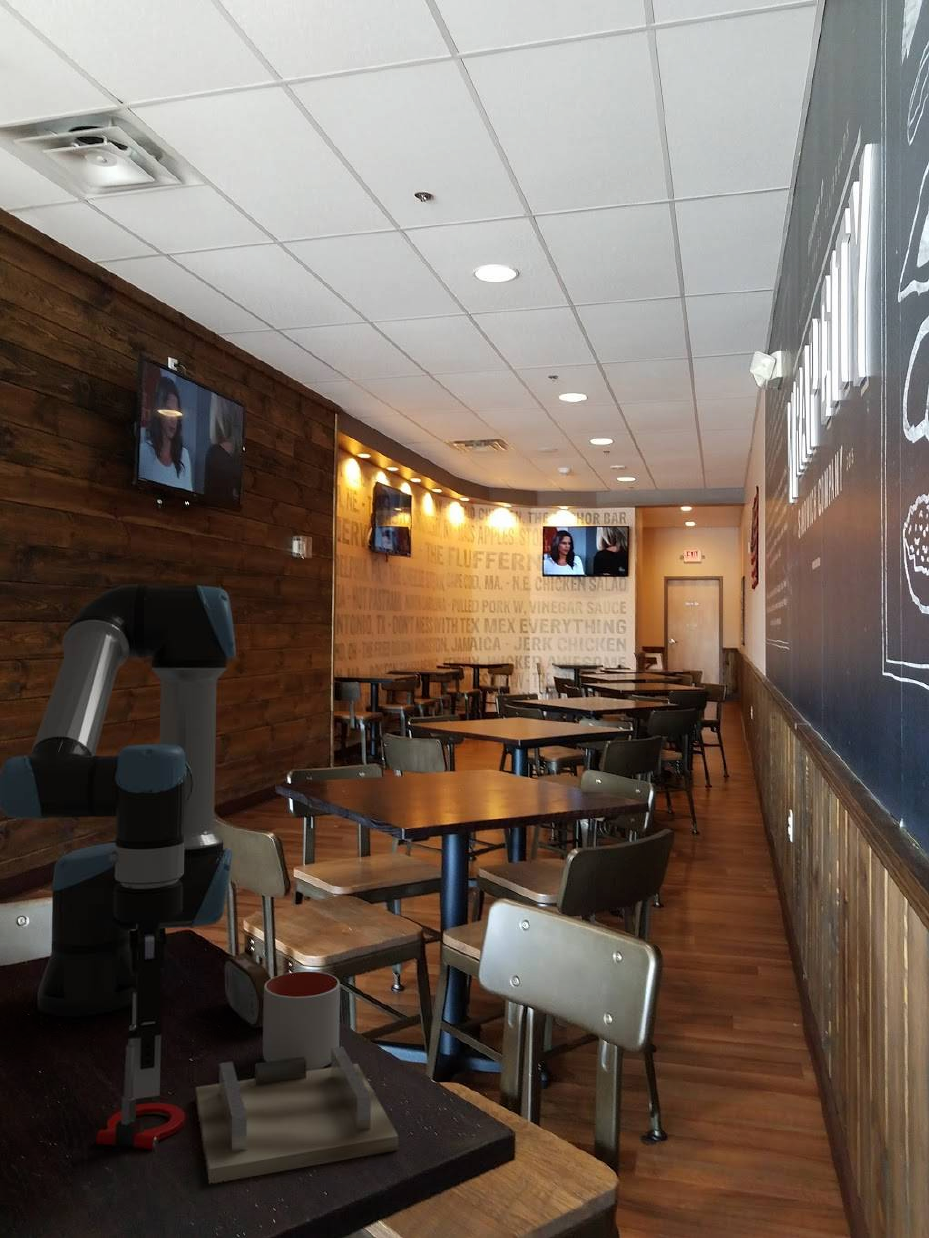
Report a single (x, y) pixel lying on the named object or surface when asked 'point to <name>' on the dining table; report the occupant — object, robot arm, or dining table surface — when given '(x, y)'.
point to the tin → (246, 987)
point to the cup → (301, 1018)
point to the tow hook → (123, 1123)
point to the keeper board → (289, 1127)
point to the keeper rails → (288, 1070)
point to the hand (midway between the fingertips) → (144, 1070)
